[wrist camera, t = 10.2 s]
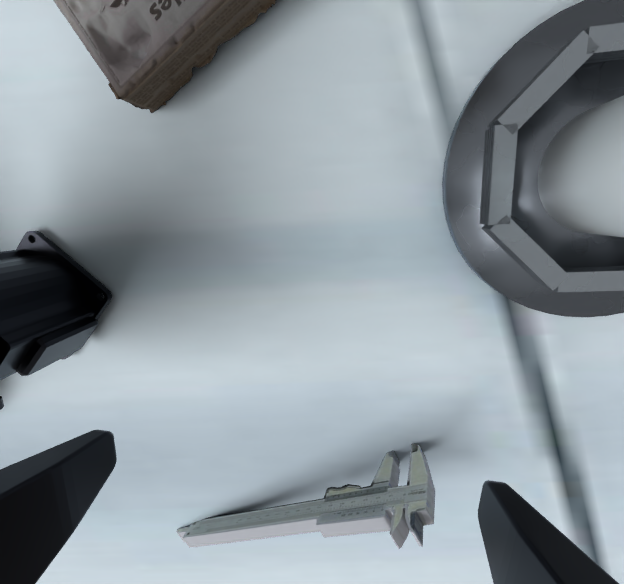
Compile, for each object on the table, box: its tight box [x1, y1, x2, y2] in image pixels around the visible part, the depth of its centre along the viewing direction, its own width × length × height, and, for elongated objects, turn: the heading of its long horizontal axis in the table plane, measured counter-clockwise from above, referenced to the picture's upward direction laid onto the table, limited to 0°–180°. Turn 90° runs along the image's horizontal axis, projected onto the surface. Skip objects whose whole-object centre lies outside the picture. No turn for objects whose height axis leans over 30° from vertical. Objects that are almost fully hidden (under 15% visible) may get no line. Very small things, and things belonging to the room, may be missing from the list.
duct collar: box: [442, 0, 624, 317], centre depth 16 cm, size 15×15×2 cm
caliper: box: [177, 444, 435, 549], centre depth 22 cm, size 20×1×6 cm, turn 119°
